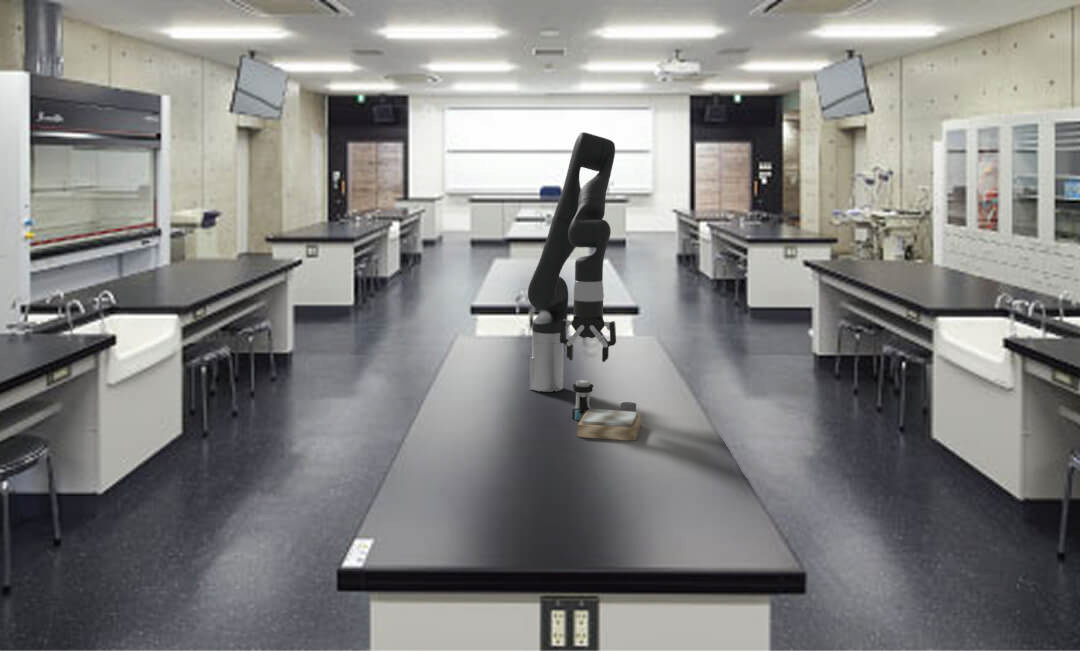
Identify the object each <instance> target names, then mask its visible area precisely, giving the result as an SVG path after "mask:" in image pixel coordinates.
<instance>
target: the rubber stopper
mask: <svg viewBox="0 0 1080 651" xmlns="http://www.w3.org/2000/svg"><path fill="white" fill-rule="evenodd" d="M620 411H632V412H637V403H635V402H631V401H624V402H621V403H620Z"/></svg>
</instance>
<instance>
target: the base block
mask: <svg viewBox="0 0 1080 651" xmlns="http://www.w3.org/2000/svg"><path fill="white" fill-rule="evenodd" d="M641 427H642V414H641V413H638V411H636V412H632V411H621V410H615V409H599V408H597V409H596V408H590V410H589V411H586V413H585V414H584V416H583V417H582V419H581V420H579V422H578V423H577V432H576V434H577V438H589V439H602V440H603V439H604V440H616V441H618V440H619V441H628V440H635V439H637V437H638V435H637V434H639V432H640V430H641ZM639 429H640V430H639ZM636 436H637V437H636ZM617 439H618V440H617ZM635 441H636V440H635Z"/></svg>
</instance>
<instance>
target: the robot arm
mask: <svg viewBox="0 0 1080 651" xmlns="http://www.w3.org/2000/svg"><path fill="white" fill-rule="evenodd" d="M572 148H573V150H572V152H571V156H570V159H569V163H568V168H567V172H566V176H565V180H564V184H563V187H562V190H561V193H560V196H559V200H558V202H557V205H556V207H555V211H554V214H553V217H552V220H551V223H550V226H549V231H548V234H547V237H546V240H545V243H544V245H543V250H542V252H541V255H540V259H539V261H538V263H537V266H536V268H535V270H534V272H533V275H532V277H531V280H530V281H529V282H530V283H529V285H528V288H527V297H528V298H527V299H528V302H529V303H530V305H531V306H532V307H533V308H535V309H536V310H539V311H538V314H537V316H536V318H534V320H533V321H532V326H531V327H532V328H531V330H532V331H531V333H532V335H531V338H532V339H531V341H532V342H531V357H530V358H529V390H531V391H537V392H541V391H542V392H543V393H552V392H553V391H555V392H560V391H562V390H563V389H564V386H563V385H564V351H565V350H564V345H566V357H567V359H568V360H569V361H573V360H574V345H573V343H574V342H575V341H576V339H578V337H580V338H581V339H582V338H590V339H594V338H596V339H597V340H598V341H599V342H600V344H601V345H602V350H601V351H602V352H601V354H602V355H601V361H602V363H605V362H606V361H607V360H608V359H609V354H610V352H609V351H610V350H609V349H610V348H609V347H612V346H615V345H616V344H617V330H616V328H617V327H616V322H615V320H612V321H604V320H605V319H604V296H605V295H604V294H605V293H604V284H603V283H604V282H603V279H604V278H603V276H604V275H603V274H604V273H603V272H604V260H605V255H606V251H607V247H608V244H609V240H610V238H611V233H612V231H611V227H610V224H609V223H608V221H607V220H605V219H604V217H605V212H606V211H605V209H606V196H607V189H608V187H609V183H610V179H611V175H612V170H613V166H614V161H615V156H616V155H615V154H616V145H615V142H614V141H612V140H611V139H609V138H605V137H602V136H599V135H595V134H592V133H590V132H583V131H582V132H580V133H579V134H578V136H577V138H576V139H575V142H574V145H573V147H572ZM582 168H584V169H586V170H591V171H595V172H598V173H597V174H596V175H595V176H593V178H591V179H590V180H588V181H587V182H586V183H585V184H584V185H583V186H582V187H581V183H580V175H581V174H580V172H581V169H582ZM576 248H595V251H594V252H593V253H592V254H589V255H585V256H580V257H577V258H576V259H575V265H574V286H573V318H572V320H570V319H569V320H567V319H568V308H569V289H568V284H567V282H566V281H565V280H564V278H563V277H562V276H560V275H561V271H562V269H563V266H565V263H566V262H567V260H568V259H569V258H570V256H571V254H572V253H573V252H574V251H575V249H576ZM570 326H571V327H572V328H573V329H574V333H573V334H572V335H571V337H570V338H569V339H568V338H567V330H568V329H569V328H570ZM604 327H606V330H608V331H609V340H608V339H607V338H606V337H605V334H604V333H603V332H602V330H603V329H604Z"/></svg>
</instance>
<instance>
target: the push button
mask: <svg viewBox="0 0 1080 651" xmlns="http://www.w3.org/2000/svg"><path fill="white" fill-rule="evenodd" d="M572 388H573V391H574V392H575V407H574V408H572V415H571V418H572V419H573V420H575V421H580V420H581V419H582V417H583V416H584V414H585V413H586V411H589V410H590V409H591V405H590V393H593V388H594V384H593V383H591V380H587V379H579V380H578V379H577V380H576V381H575V383H573V384H572Z"/></svg>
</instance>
